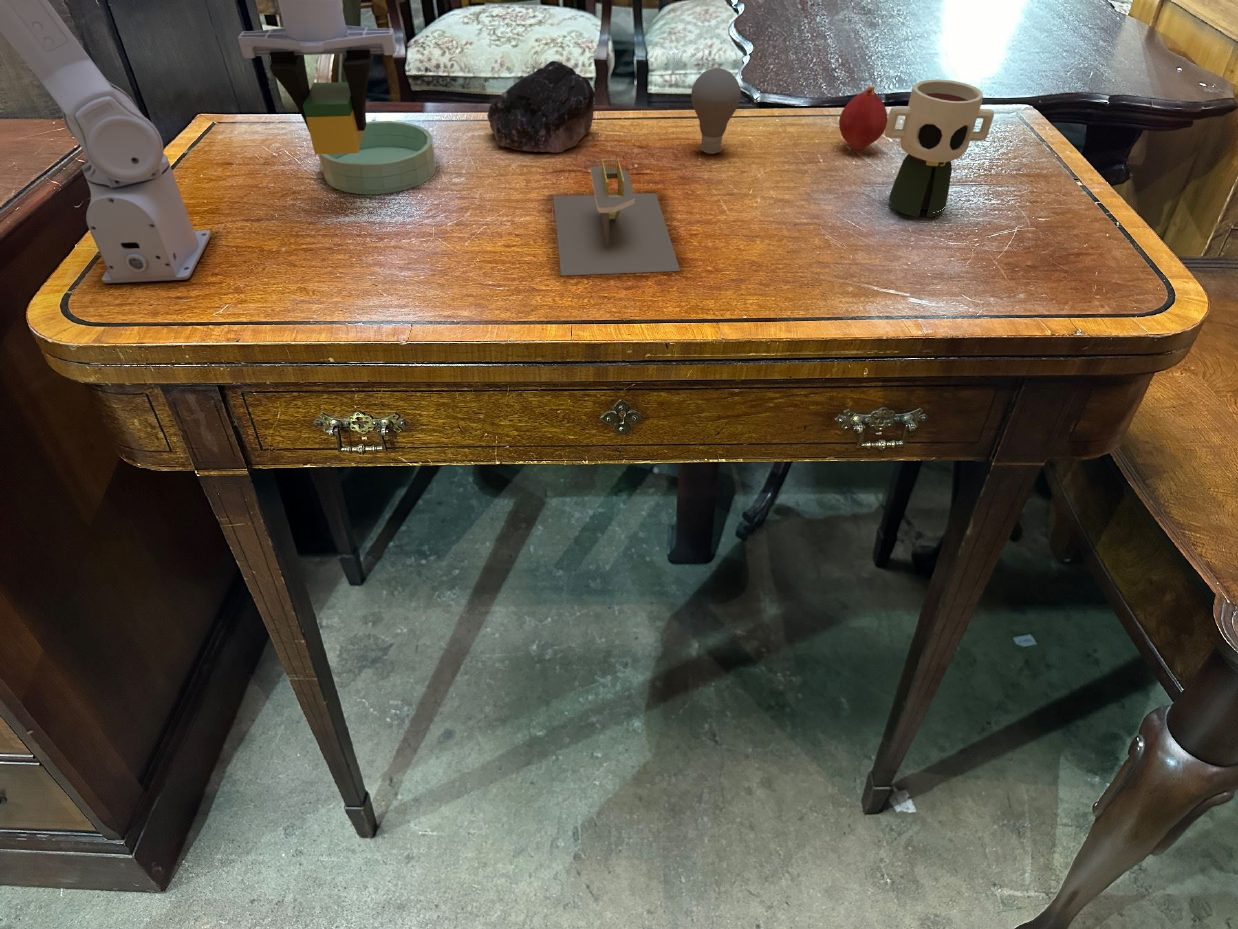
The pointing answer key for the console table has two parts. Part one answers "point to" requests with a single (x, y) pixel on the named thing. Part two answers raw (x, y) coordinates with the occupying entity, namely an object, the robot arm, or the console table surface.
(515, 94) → the dark rough boulder
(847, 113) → the onion
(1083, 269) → the console table surface
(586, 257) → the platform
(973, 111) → the character mug
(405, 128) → the bowl
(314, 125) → the sponge
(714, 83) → the light bulb
